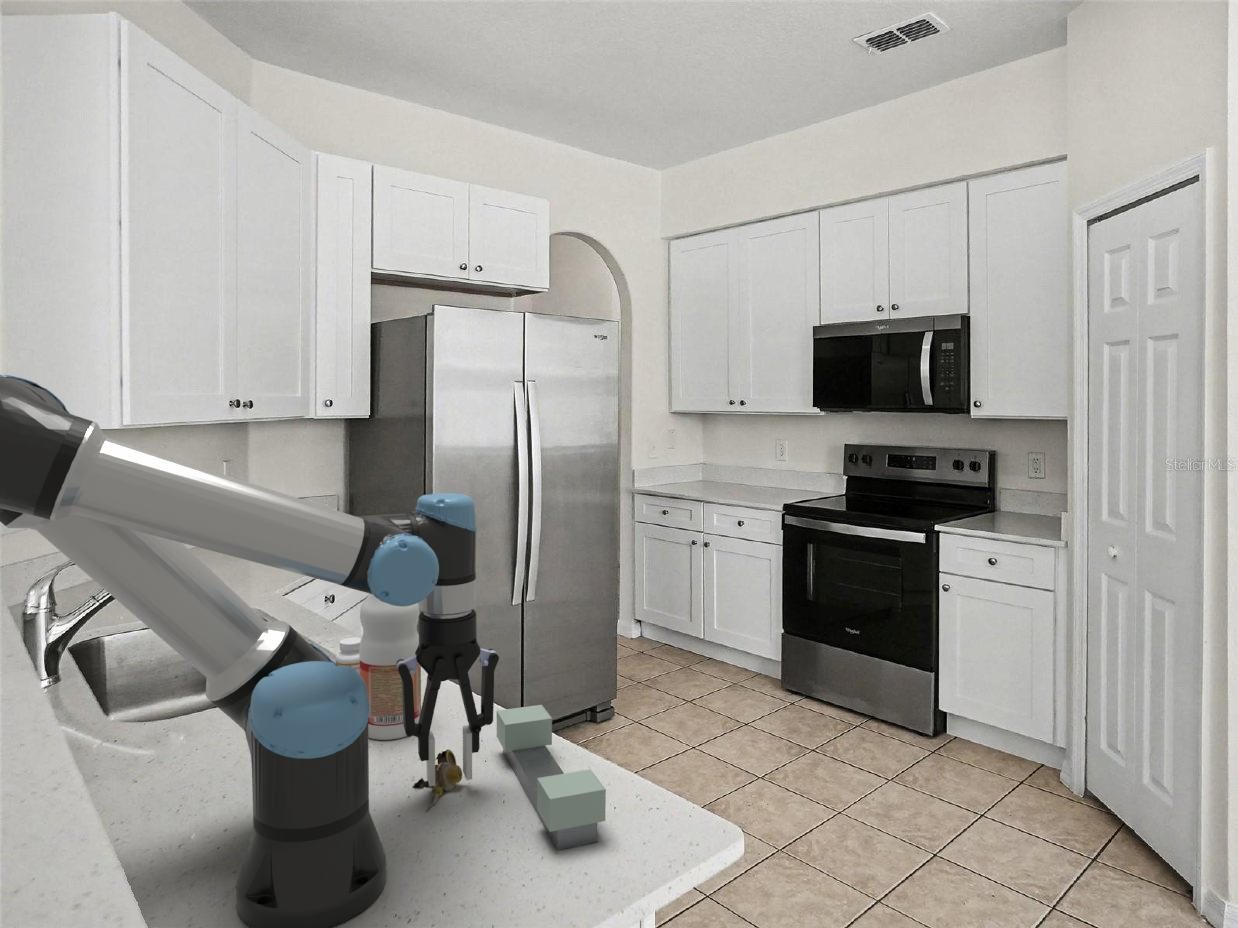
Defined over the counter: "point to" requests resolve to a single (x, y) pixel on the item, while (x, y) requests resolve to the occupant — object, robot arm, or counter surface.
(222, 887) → the counter surface
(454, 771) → the regulator
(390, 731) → the fruit juice
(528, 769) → the rail
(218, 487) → the robot arm
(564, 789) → the mounted modules
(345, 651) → the supplement bottle
